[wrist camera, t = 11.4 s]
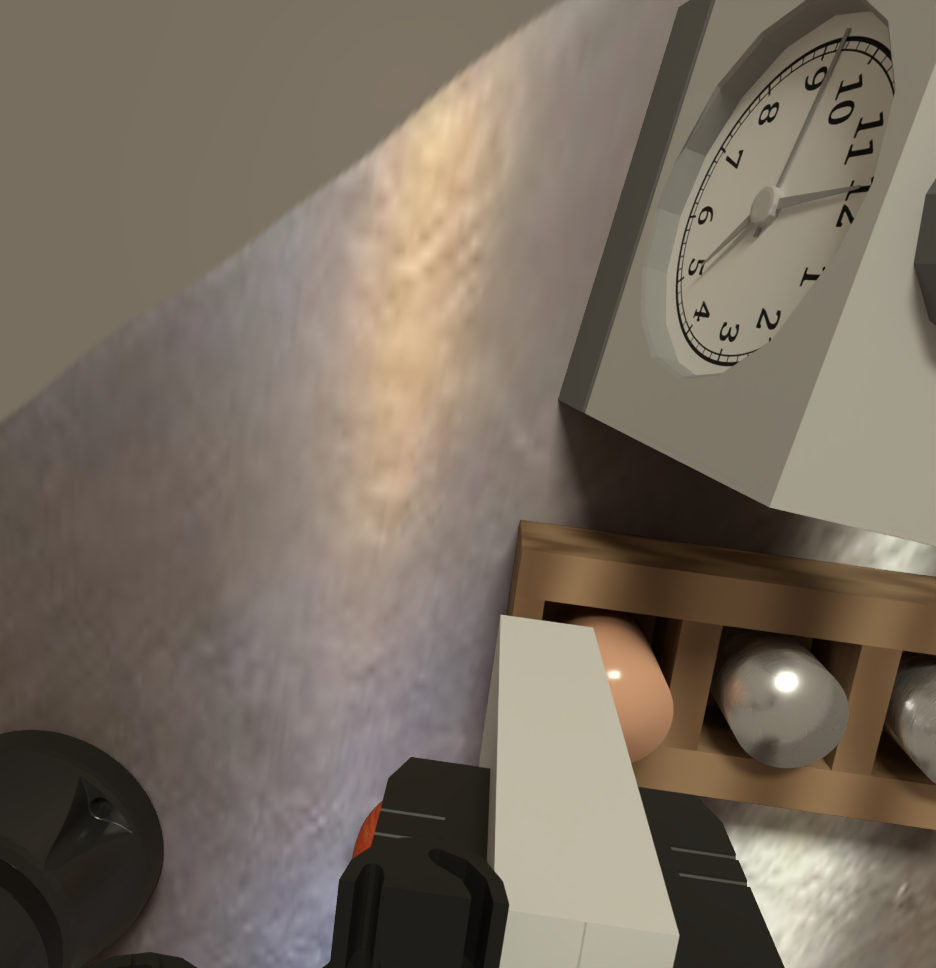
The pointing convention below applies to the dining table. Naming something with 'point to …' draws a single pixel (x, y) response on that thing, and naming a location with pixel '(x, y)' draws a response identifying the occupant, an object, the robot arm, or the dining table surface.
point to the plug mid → (777, 697)
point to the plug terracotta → (629, 676)
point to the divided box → (759, 606)
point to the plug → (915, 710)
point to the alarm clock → (781, 262)
